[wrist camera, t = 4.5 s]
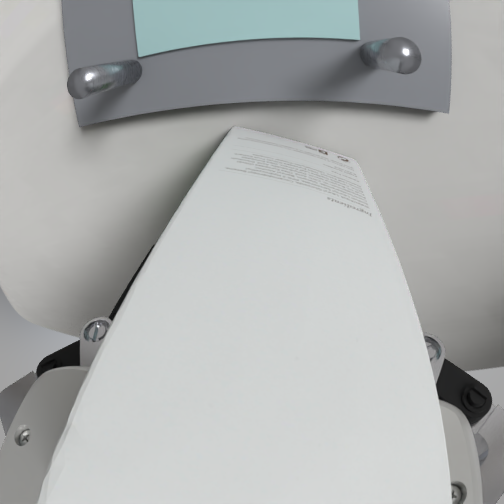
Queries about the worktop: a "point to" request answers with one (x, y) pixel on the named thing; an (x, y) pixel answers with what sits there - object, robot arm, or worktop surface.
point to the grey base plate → (256, 52)
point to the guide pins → (129, 71)
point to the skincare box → (261, 352)
